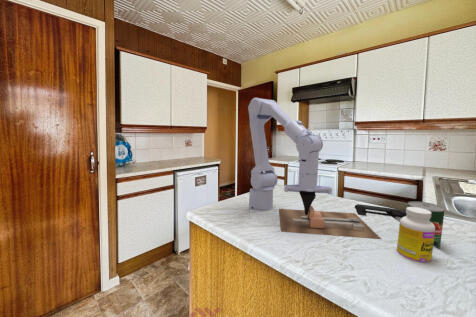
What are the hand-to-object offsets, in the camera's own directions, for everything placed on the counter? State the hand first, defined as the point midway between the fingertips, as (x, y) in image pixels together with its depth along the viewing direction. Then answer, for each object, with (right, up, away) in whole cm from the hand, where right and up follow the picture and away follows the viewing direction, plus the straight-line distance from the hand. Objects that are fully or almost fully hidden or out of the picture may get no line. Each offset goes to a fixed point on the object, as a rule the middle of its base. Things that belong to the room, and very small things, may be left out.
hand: (306, 213), depth 70 cm
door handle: (+32, -5, +8) cm, 33 cm away
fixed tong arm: (+6, -4, -2) cm, 7 cm away
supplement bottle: (+21, -7, -17) cm, 28 cm away
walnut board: (+6, -5, +2) cm, 8 cm away
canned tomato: (+31, -6, -8) cm, 32 cm away
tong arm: (+8, -3, +1) cm, 8 cm away
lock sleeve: (+3, -3, 0) cm, 4 cm away
